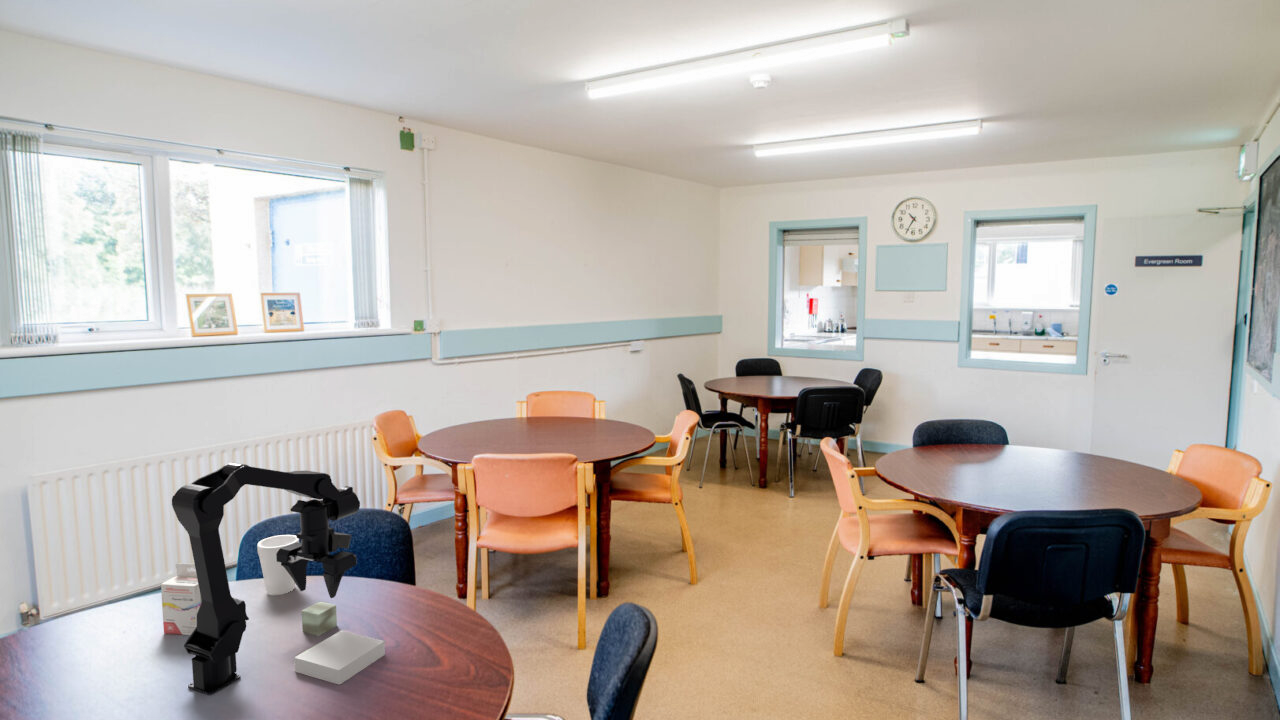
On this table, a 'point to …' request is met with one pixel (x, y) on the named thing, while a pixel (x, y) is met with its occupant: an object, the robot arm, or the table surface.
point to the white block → (339, 657)
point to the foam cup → (275, 564)
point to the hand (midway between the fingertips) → (317, 593)
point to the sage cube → (319, 618)
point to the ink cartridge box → (181, 601)
